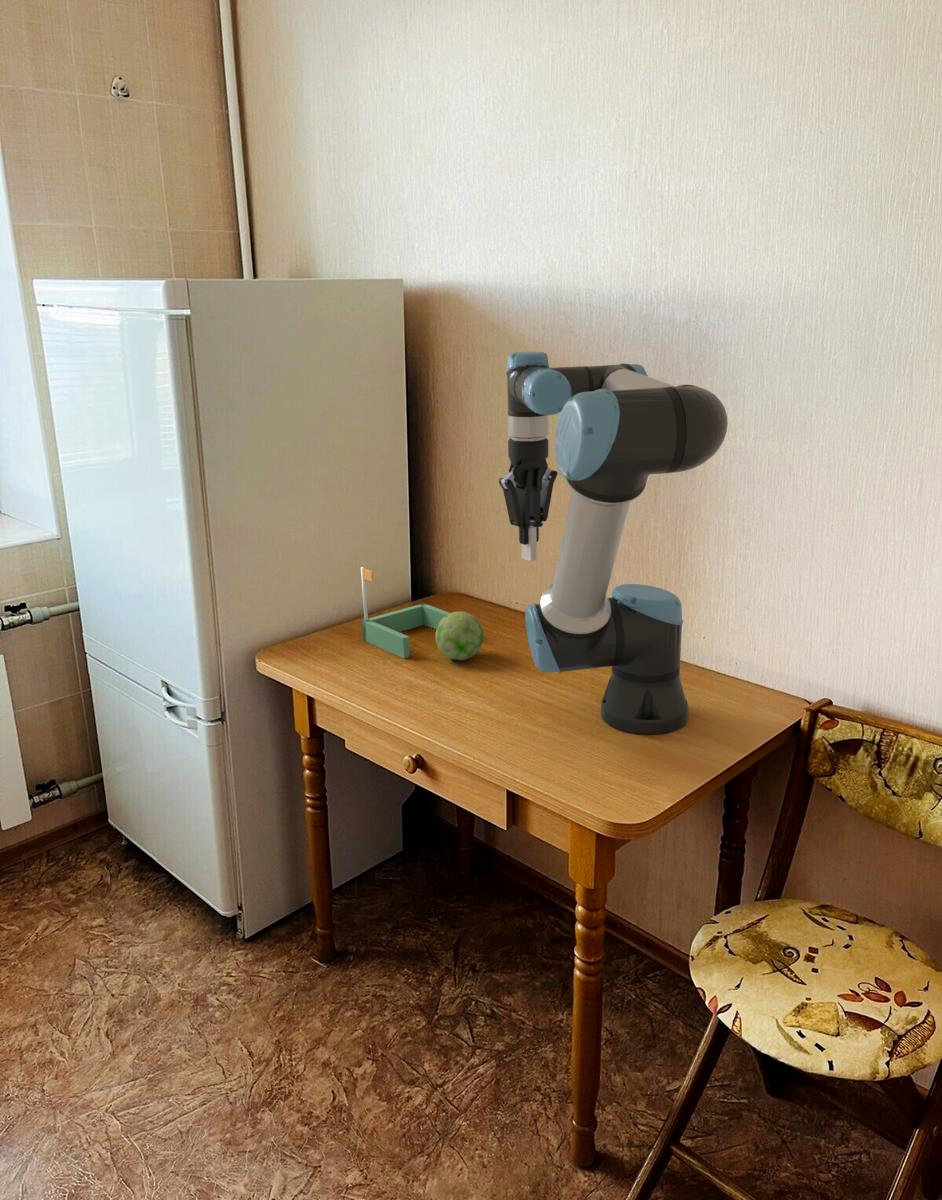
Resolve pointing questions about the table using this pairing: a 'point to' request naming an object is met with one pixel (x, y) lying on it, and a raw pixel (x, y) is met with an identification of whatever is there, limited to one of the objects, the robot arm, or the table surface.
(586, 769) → the table surface
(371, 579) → the cup
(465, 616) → the decorative ball
